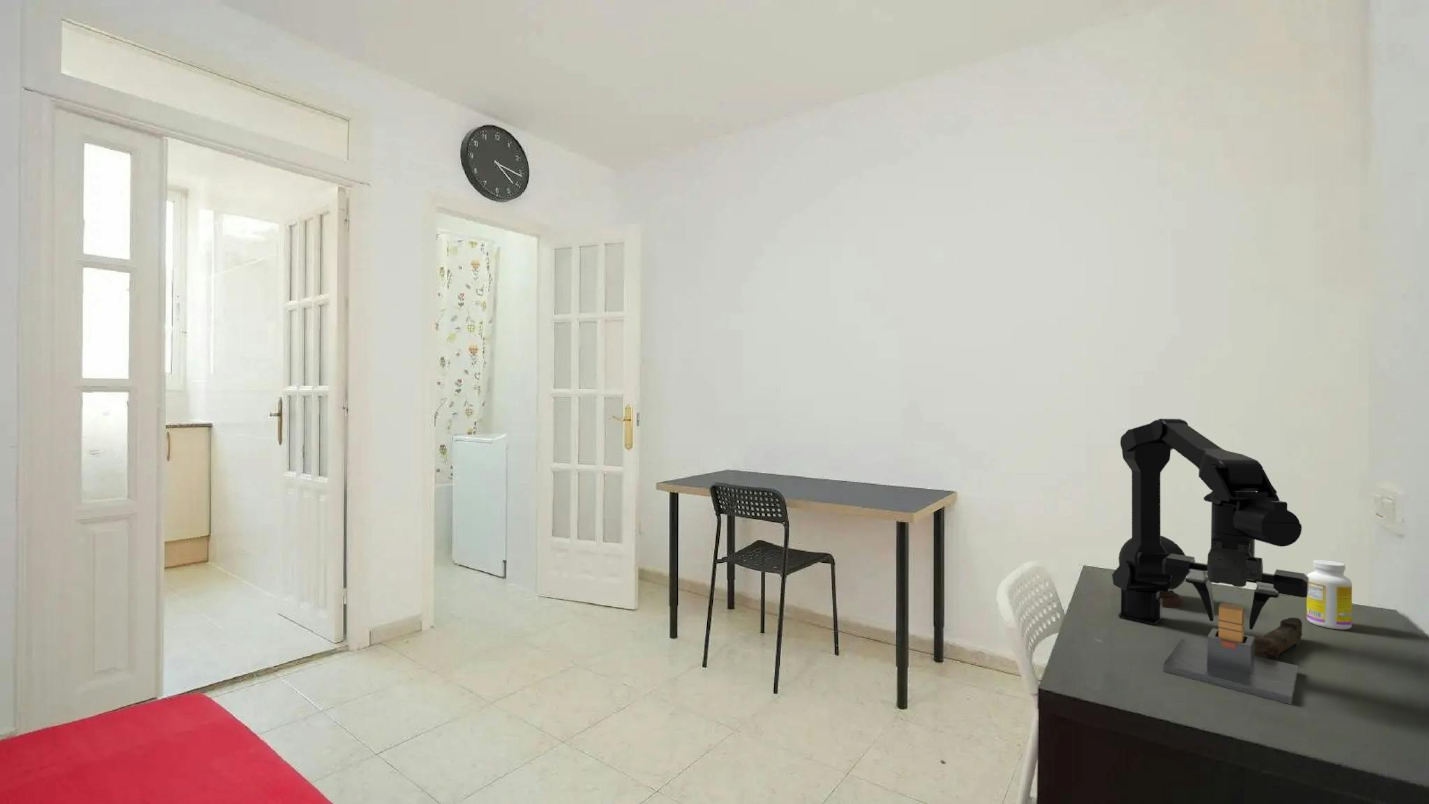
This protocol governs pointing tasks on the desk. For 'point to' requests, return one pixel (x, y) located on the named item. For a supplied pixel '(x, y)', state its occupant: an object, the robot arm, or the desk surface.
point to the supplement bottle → (1329, 596)
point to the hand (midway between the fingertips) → (1231, 624)
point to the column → (1231, 622)
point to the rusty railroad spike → (1279, 639)
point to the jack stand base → (1233, 667)
